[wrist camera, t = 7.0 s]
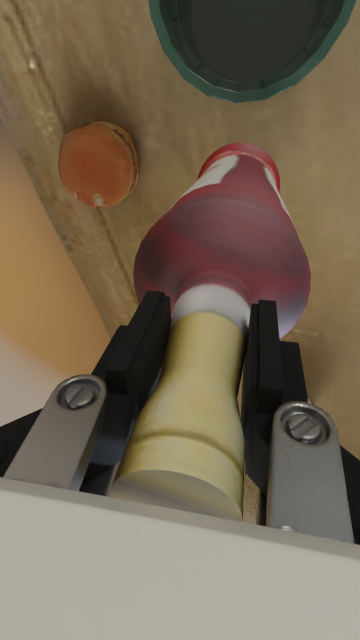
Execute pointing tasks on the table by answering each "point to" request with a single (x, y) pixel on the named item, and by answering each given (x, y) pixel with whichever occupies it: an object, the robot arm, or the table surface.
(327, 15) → the ice bucket
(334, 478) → the robot arm
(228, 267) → the liquor
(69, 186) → the burger
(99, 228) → the table surface
